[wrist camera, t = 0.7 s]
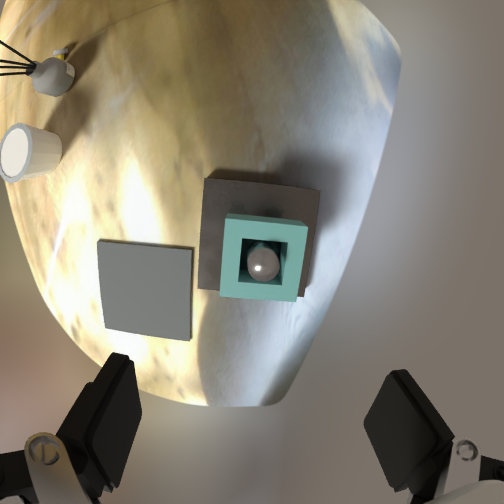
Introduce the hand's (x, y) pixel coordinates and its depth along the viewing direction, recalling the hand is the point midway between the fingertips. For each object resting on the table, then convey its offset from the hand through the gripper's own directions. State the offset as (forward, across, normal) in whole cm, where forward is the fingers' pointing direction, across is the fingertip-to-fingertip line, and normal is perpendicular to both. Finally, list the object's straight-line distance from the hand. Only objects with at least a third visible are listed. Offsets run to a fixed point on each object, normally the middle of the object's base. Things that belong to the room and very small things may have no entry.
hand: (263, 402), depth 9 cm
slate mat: (+23, +12, +7) cm, 27 cm away
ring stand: (+23, -1, -1) cm, 23 cm away
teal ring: (+17, -1, -1) cm, 17 cm away
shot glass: (+23, +27, -9) cm, 37 cm away
